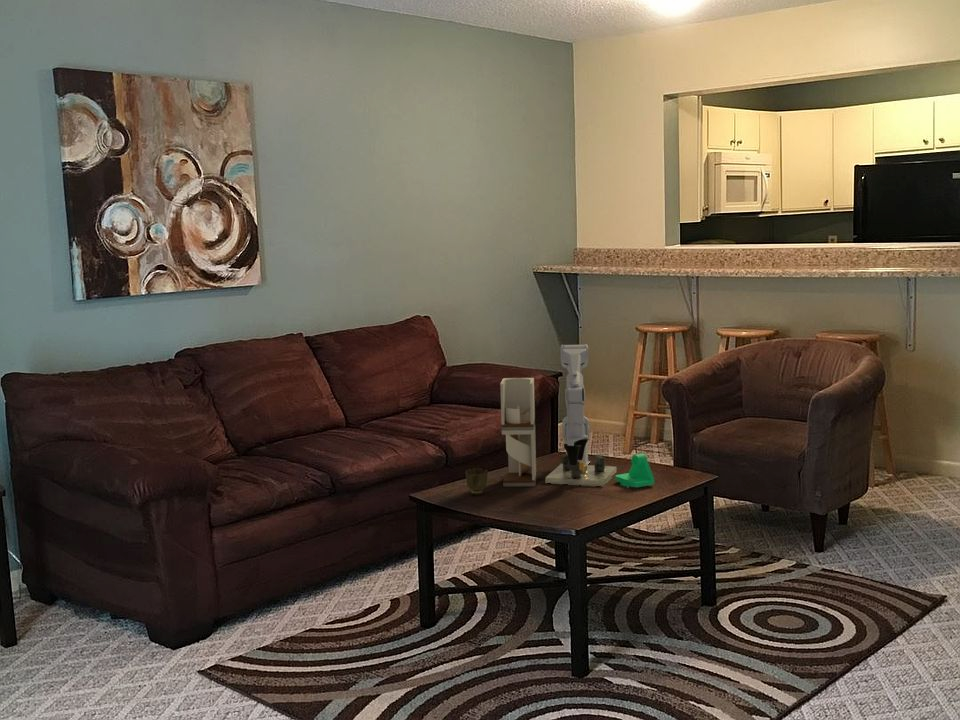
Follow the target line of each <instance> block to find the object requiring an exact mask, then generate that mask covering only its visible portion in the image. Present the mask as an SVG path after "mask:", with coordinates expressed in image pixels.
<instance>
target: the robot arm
mask: <svg viewBox="0 0 960 720" xmlns="http://www.w3.org/2000/svg"><path fill="white" fill-rule="evenodd" d="M560 365H561V367H562V368H564V369H567V374H566V379H565V380H566V389H564V392H565V393H564V395H565V405H566V416H565V417H564V418H562V423H561V424H562V425H561V437H562V438H561V439H562V440H563V441H564V442H565V443H564V444H563V448H564V449H565V455H567V454H568V458H569V462H570V465H577V462H585V464H587V465H588V464H589V463H590V462H591V463H592V461H591V460H589V446H588V441H589V440H590V439H591V437H590V436H591V435H590V431H591V430H590V420H589V418H588V417H586V416H585V403H586V389H585V385H584V375H583V374H582V371H583V369H584V368H586V367H588V365H589V345H588V344H587V343H584V344H561V345H560ZM591 463H590V464H591ZM590 464H589V465H590Z"/></svg>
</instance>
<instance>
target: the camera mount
mask: <svg viewBox="0 0 960 720" xmlns="http://www.w3.org/2000/svg"><path fill="white" fill-rule="evenodd" d="M647 458H648V457H647V456H646V454H644V453H643V452H642V453H637V454H633V455H632V456H631V458H630V460H631V461H630V462H631V467H630V469H629V472H628V473H622V474H616V475H614V476H615V481H617V482H619V483H620V486H622V485H623V486H622V487H625V486H626V488H628V487H631V488H642V487H647V486H652V485H655V478H654V475H653V472H652V470H651V467H650V464H649V461H648V459H647Z"/></svg>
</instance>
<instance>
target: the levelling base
mask: <svg viewBox="0 0 960 720" xmlns="http://www.w3.org/2000/svg"><path fill="white" fill-rule="evenodd" d="M568 462H569V458H568V454H567V455H566V454H564V455H560V464H559V465H558V466H557V467H556V468H555V469H554V470H552V471H550V473H548V475H546V476H545V478H544V479H545V480H544V481H545V482H544V483H545V484H547V483H551V484H550V485H563V484H568V486H579V485H581V486H582V487H596V486H601V488H604V487H605V486H606V485H607V484H608V482H609V481H611V480H612V478H613V477H614V476H615V475H614V474H615V473H616V474H617V472H618V471H617V468H618V467H617V466H611V465H606V463H605V457H603V456H602V455H600V454H595V456H594V462H595V463H593V464H594V465H593V464H591V465H590V464H589V465H587V464H585V469H584V470H582V477H580V478H573V477H571V470H570V469H568ZM613 475H614V476H613ZM612 476H613V477H612ZM606 483H607V484H606ZM605 484H606V485H605ZM604 485H605V486H604Z"/></svg>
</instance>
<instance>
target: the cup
mask: <svg viewBox="0 0 960 720" xmlns="http://www.w3.org/2000/svg"><path fill="white" fill-rule="evenodd" d="M488 471H489V469H487V468H485V469H484V470H483V467H482V468H480V467H477V468H475V467H473V468H472V469H471V468H469V469H465V471H464V472H465V479H466V485H467V487H468V488H469V490H471V494H472V495H473V494H474V495H473V496H480V494H481V495H482V494H483V492H484V491H483V490H484V489H486V486H487V483H488Z"/></svg>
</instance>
